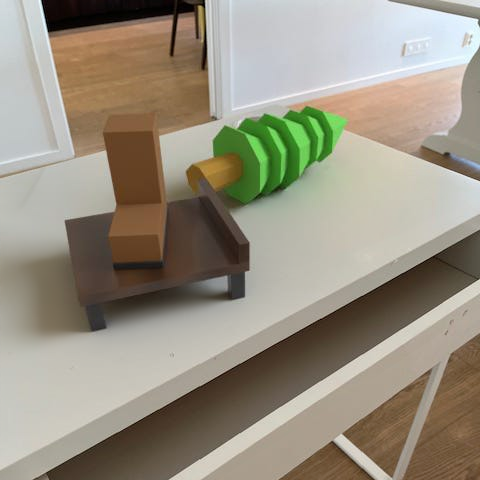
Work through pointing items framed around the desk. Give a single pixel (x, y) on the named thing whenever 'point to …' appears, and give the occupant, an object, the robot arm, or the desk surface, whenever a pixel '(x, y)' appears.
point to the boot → (136, 191)
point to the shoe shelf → (176, 254)
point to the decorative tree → (267, 152)
